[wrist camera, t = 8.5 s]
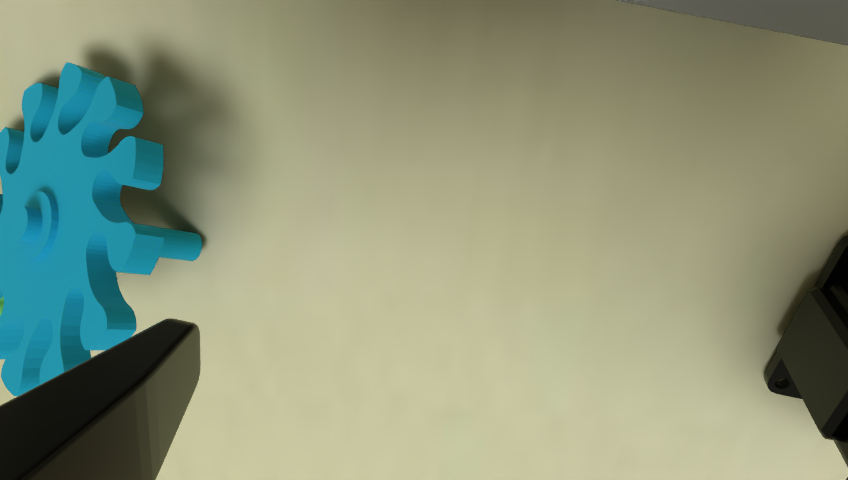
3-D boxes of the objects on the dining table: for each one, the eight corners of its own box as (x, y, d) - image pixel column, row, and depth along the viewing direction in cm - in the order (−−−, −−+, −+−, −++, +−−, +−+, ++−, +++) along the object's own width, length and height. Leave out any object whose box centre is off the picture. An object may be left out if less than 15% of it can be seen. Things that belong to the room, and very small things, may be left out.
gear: (97, -12, 18) (134, 336, 15) (262, 62, 23) (316, 339, 20) (-70, 161, 24) (-68, 444, 21) (92, 192, 29) (113, 425, 25)
